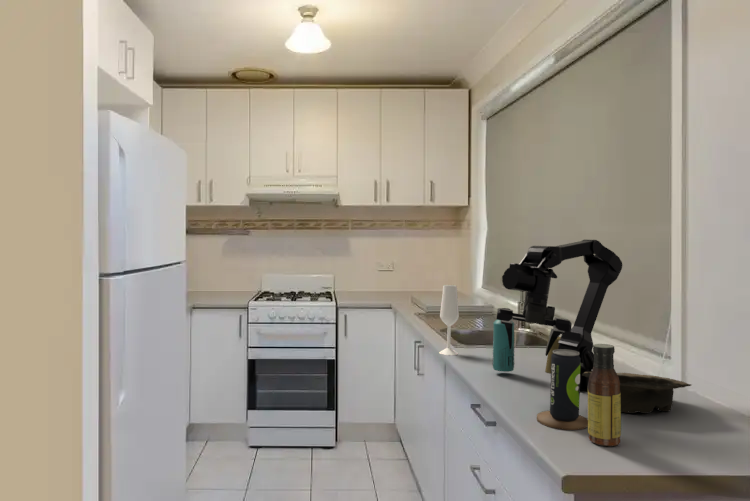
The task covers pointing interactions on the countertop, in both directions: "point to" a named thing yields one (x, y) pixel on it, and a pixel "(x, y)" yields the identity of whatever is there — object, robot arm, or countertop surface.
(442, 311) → the champagne flute
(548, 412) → the walnut coaster
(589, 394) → the sauce bottle
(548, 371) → the cork
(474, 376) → the countertop surface
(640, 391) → the stone bowl
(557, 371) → the beverage can
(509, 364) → the beverage bottle
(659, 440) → the countertop surface
